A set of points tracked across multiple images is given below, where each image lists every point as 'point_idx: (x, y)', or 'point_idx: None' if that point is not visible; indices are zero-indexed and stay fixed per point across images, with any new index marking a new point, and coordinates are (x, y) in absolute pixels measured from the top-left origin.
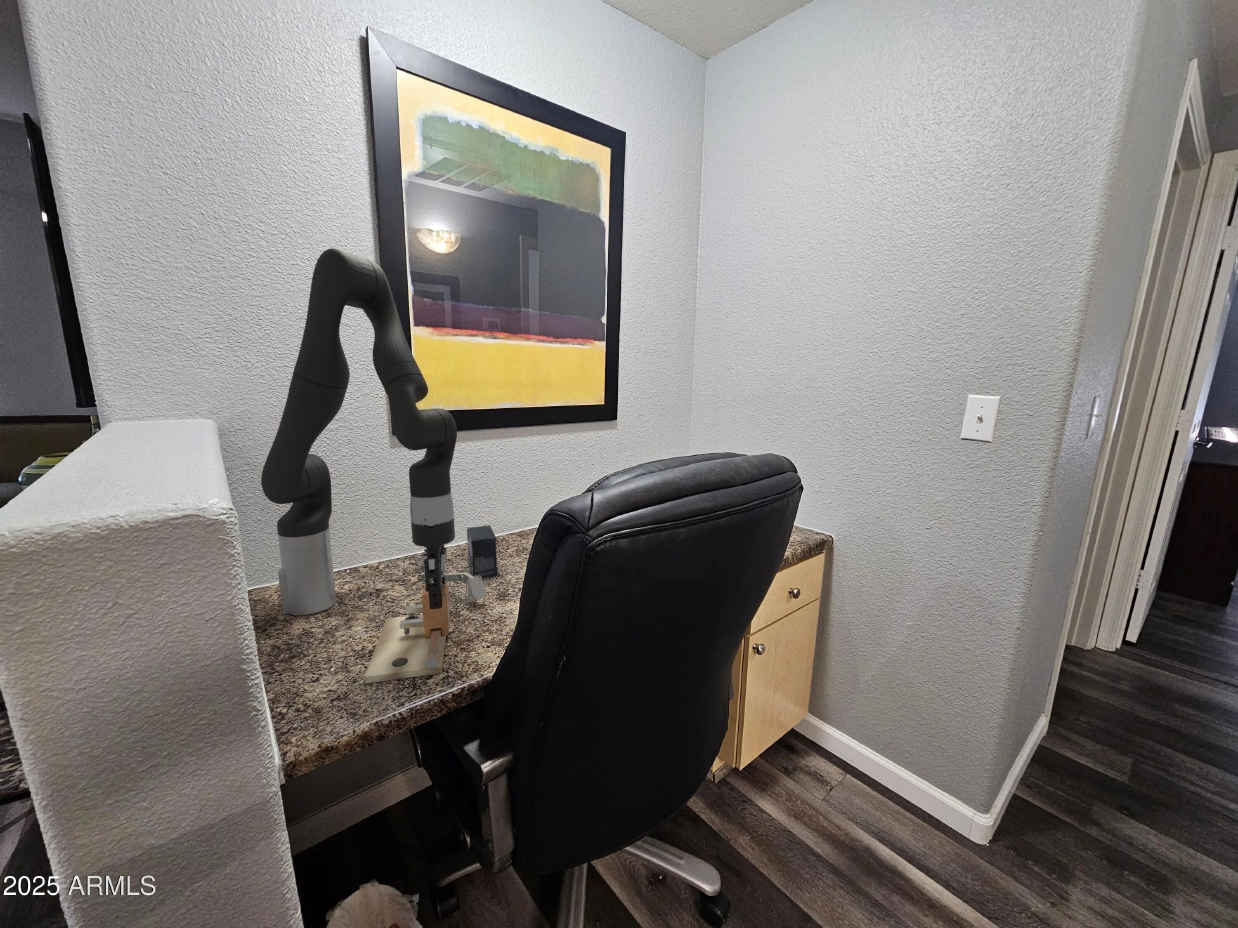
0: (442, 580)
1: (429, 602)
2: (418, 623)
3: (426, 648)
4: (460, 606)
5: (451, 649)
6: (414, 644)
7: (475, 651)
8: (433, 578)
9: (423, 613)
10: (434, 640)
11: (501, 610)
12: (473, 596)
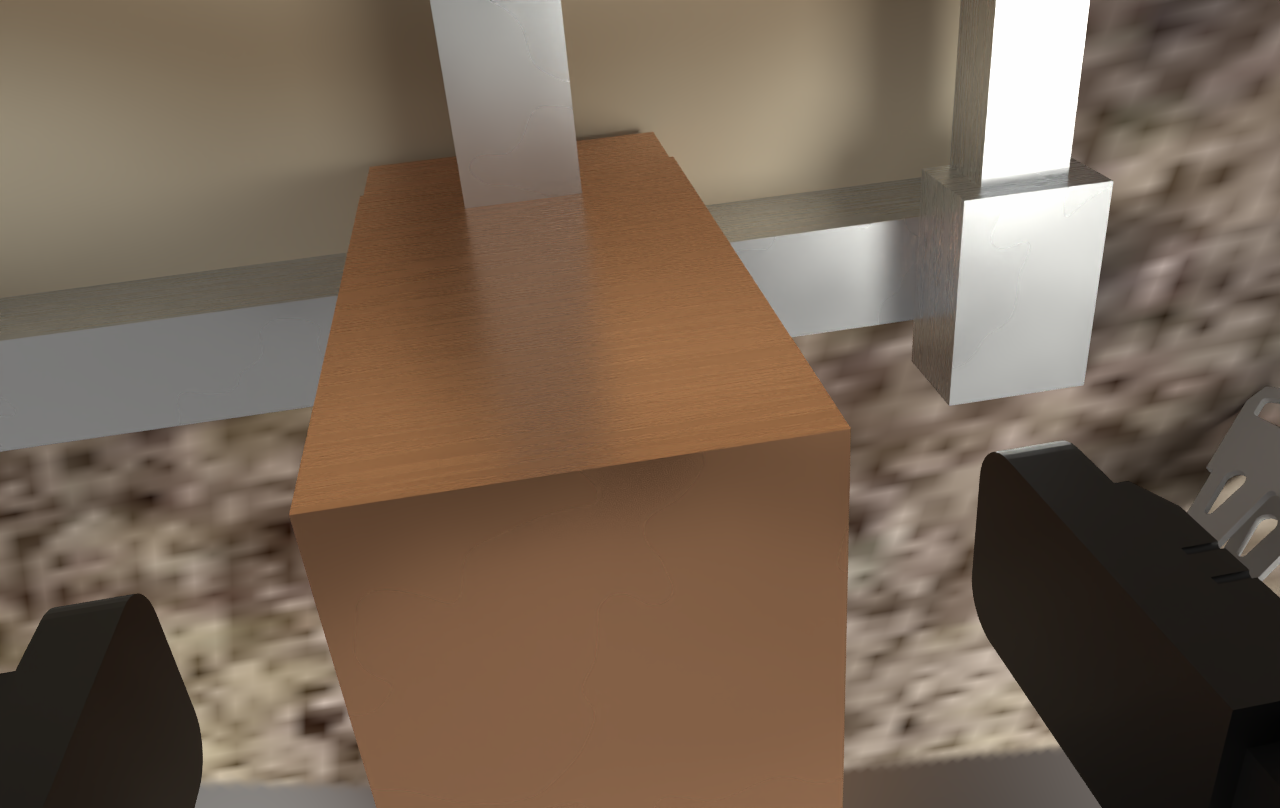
0: (1055, 698)
1: (11, 696)
2: (449, 111)
3: (125, 233)
4: (1192, 347)
5: (265, 437)
6: (221, 51)
7: (230, 645)
8: (1114, 599)
9: (338, 307)
10: (105, 380)
11: (963, 710)
12: (1218, 539)
